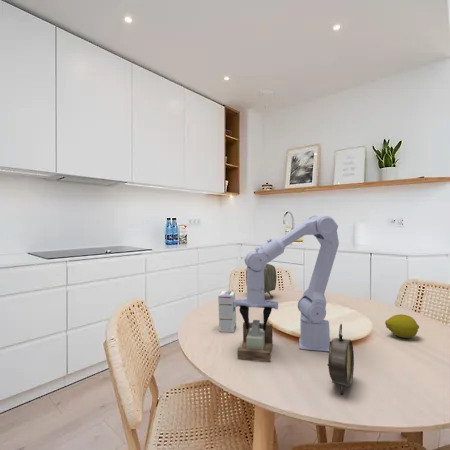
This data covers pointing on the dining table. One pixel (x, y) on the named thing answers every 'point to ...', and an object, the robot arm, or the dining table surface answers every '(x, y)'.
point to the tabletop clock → (268, 279)
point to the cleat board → (252, 353)
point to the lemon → (402, 326)
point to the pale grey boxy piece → (256, 336)
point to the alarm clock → (341, 361)
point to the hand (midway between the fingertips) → (256, 328)
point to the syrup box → (227, 311)
